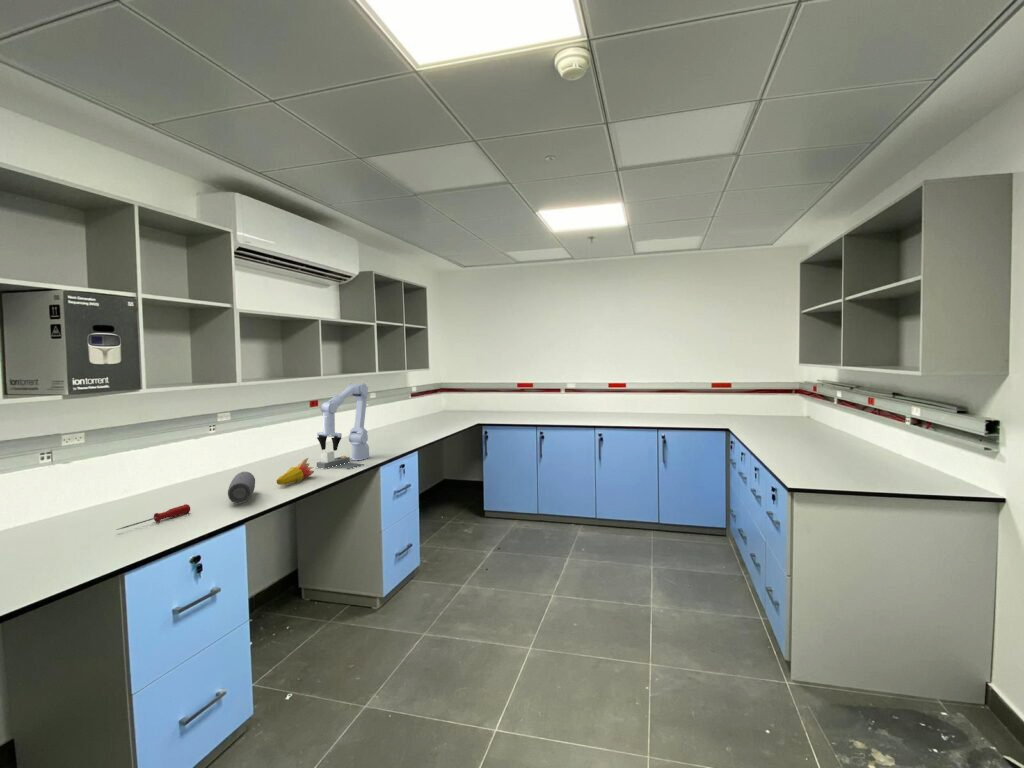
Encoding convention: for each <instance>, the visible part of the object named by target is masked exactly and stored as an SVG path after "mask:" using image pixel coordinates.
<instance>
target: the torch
mask: <svg viewBox="0 0 1024 768" xmlns="http://www.w3.org/2000/svg"><path fill="white" fill-rule="evenodd" d="M308 459H309V457H306V458H305V459H303V460H301V463H298V464H297V465H295V466H292V467H290V468H289V469H288V470H287V471H286V472H285V473H283V475H280V476H279V477H278V478H277V479H276V484H277V485H280V486H285V485H286V486H287V485H289V484H292V483H299V482H298V481H301V482H302V480H303V479H306V478H309V477H311V475H312V474H314V473H315V471H314V470H312V469H314V467H313V466H310V464H311V463H310V462H308Z"/></svg>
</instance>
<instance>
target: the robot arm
mask: <svg viewBox="0 0 1024 768" xmlns="http://www.w3.org/2000/svg"><path fill="white" fill-rule="evenodd" d="M368 391H369V387H368V386H367V385H366V384H365V383H352V382H351V383H349V384H348V385H347V386H346V388H345V389H344V390H343V391H342V392H341V393H340V394H334V395H333V397H332V398H330V399H329V400H328V401H325V402H323V403H322V404H321V407H320V412H321V414H322V417H323V421H322V423H323V426H322V427H323V428H322V430H323V432H321V431H319V432H316V439H317V441H318V442H319V445H320V447H321V448H320V449H321V450H322V451H324V450H326V448H327V439H328V438H329V437H331V441H332V449H333V450H332V451H334V452H336V451H338V447H339V444H340V441H341V439H342V436H343V434H342V433H341V432H336V427H335V426H336V419H335V417H336V416H335V414H336V413H337V411H338V408H339V407H340V406H341V405H343V404H344V402H345V399H347V398H349V397H350V396H352V397H353V398H354V399H355V400H356V407H355V417H354V424H353V427H352V428H351V429H350V432H349V434H348V437H347V438H348V441H349V443H350V445H351V454H352V455H351V457H352V458H351V457H350V461H357V460H360V461H364V460H368V459H371V457H370V446H369V444H368V443H367V442H368V439H369V436H368V430H367V429H365V419H366V412H367V411H366V410H367V401H368V393H369V392H368ZM367 458H368V459H367ZM363 459H364V460H363Z"/></svg>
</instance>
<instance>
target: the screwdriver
mask: <svg viewBox="0 0 1024 768" xmlns="http://www.w3.org/2000/svg"><path fill="white" fill-rule="evenodd" d="M190 512H191V506H190V505H189V504H186V503H184V504H183V505H178V506H176V507H173V508H169V509H168V510H165V511H163V512H160V513H158V512H155V513H154V514H153V517H152V518H149V519H146V520H142V521H138V522H136V523H135V522H134V523H132V524H129V525H126V526H122V527H119V528H117V529H115V530H116V531H117V530H122V529H123V530H124V529H126V528H129V527H132V526H136V525H139V524H142V523H145V522H150V521H152V520H154V521H155V522H156V523H158V522H160V521H162V520H164V519H168V518H176V517H178V516H181V515H186V514H189V513H190Z"/></svg>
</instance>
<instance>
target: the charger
mask: <svg viewBox="0 0 1024 768" xmlns="http://www.w3.org/2000/svg"><path fill="white" fill-rule="evenodd" d="M320 456H321V457H320V462H331V461H335V460H334V458H335V451H334V450H327V451H322V452H320Z"/></svg>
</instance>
